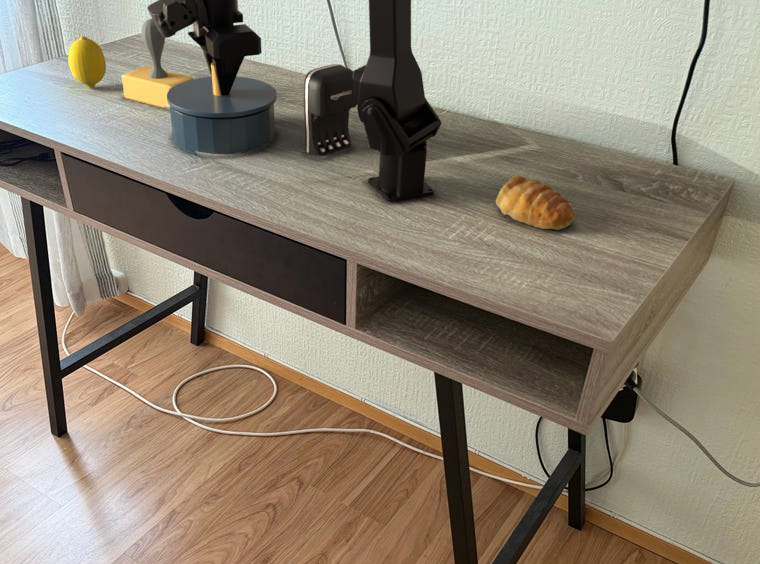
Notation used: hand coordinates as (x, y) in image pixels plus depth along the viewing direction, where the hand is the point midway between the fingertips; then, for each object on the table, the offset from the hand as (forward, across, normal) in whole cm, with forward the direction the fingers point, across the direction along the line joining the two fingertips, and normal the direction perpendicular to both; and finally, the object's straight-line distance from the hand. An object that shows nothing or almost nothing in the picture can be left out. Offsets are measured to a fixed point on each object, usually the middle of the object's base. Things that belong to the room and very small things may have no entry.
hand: (221, 91), depth 112 cm
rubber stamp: (+7, -18, -5) cm, 20 cm away
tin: (+6, 0, 0) cm, 7 cm away
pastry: (+7, +36, +28) cm, 46 cm away
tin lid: (+1, 0, 0) cm, 1 cm away
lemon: (+7, -27, -14) cm, 31 cm away
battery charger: (+7, +10, +12) cm, 17 cm away
